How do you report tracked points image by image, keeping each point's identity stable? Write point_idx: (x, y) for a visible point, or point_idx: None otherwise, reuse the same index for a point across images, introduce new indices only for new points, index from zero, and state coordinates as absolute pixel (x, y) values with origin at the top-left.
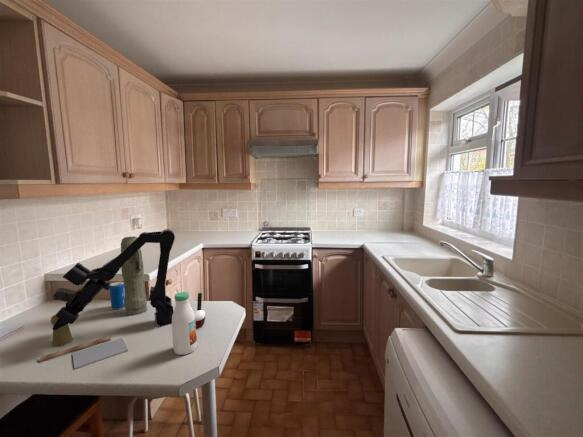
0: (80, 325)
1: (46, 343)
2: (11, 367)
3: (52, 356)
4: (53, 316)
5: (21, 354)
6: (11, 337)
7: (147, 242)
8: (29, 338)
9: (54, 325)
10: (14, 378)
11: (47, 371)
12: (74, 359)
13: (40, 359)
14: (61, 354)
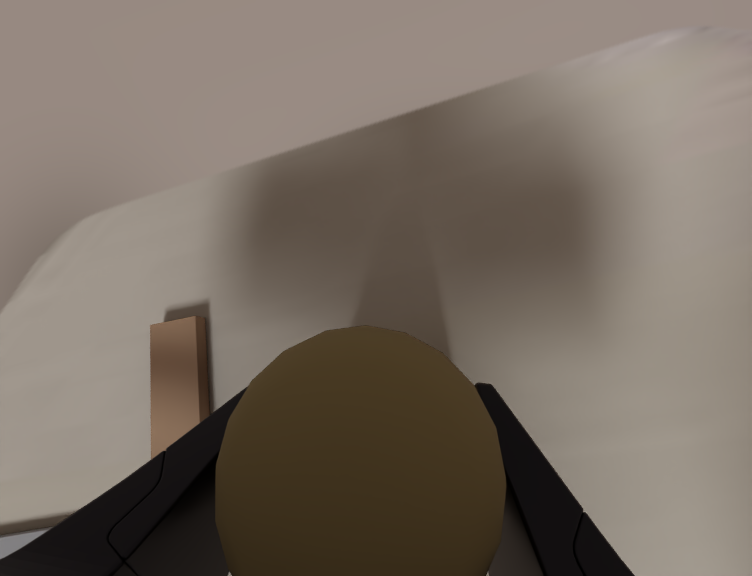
0: (734, 516)
1: (442, 297)
2: (209, 197)
3: (152, 390)
4: (311, 380)
5: (351, 194)
6: (689, 49)
7: None
8: (607, 162)
9: (231, 400)
10: (72, 249)
11: (20, 393)
12: (20, 542)
13: (156, 326)
14: (156, 441)
